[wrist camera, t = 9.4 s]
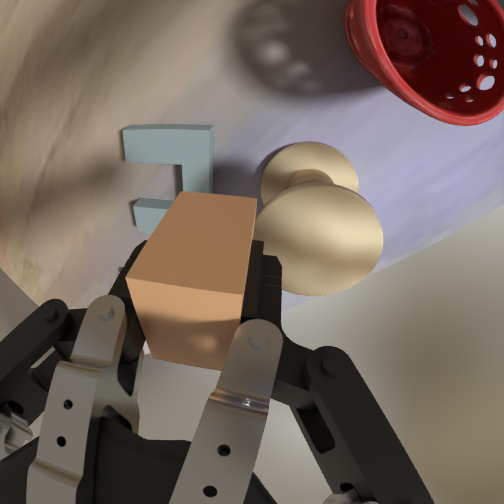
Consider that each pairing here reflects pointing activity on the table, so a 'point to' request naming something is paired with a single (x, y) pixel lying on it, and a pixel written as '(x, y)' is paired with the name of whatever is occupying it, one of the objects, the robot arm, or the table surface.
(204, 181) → the notched board
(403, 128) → the table surface
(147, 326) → the block
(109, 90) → the table surface
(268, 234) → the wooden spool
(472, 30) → the plant pot
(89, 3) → the table surface
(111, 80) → the table surface
